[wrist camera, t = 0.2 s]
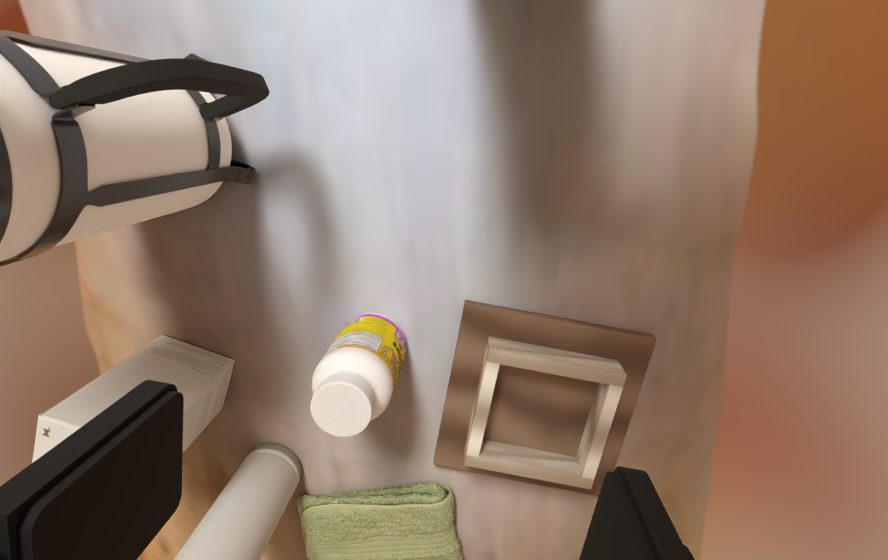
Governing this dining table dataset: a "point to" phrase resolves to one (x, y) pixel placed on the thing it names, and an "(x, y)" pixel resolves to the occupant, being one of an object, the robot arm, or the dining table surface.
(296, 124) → the dining table surface
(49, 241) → the coffee press
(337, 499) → the washcloth
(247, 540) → the travel mug
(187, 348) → the skincare box
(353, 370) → the supplement bottle
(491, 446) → the collar dock
